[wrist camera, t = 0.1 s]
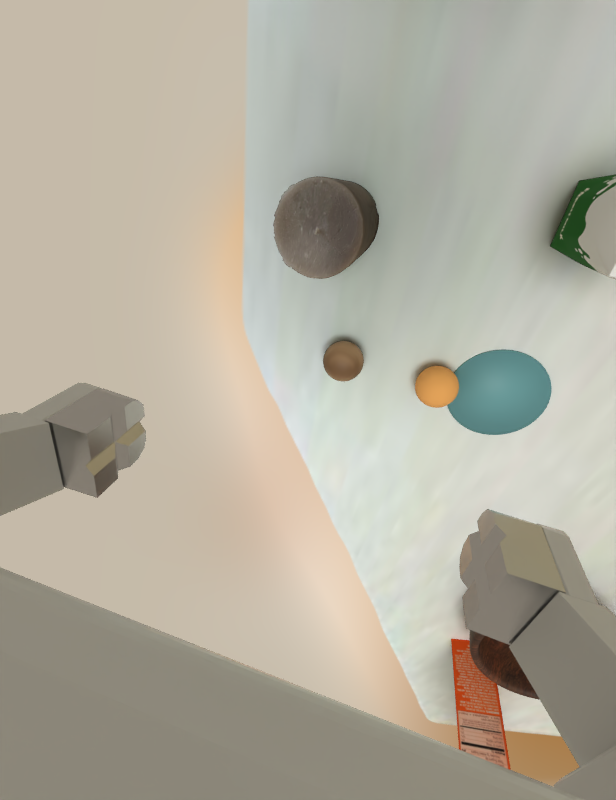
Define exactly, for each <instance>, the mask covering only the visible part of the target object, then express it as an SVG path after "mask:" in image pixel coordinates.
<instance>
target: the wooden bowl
mask: <svg viewBox="0 0 616 800" xmlns="http://www.w3.org/2000/svg"><path fill="white" fill-rule="evenodd" d="M509 646H510V645H508V644H506V643H503V642H501V641H498V640H495V639H493V638H490V637H488V636H485V635H482V634H480V633H477V632H475V631H472V630H470V653H471V657H472V659H473V661H474V663H475V665H476V667H477V668H478V669H479V670H480V671H481V672H482V673H483V674H484V675H485V676H486V677H487V678H489V679H490V680H491V681H493V682H494V683H496V684H498V685H499V686H501V687H503V688H505V689H507V690H510V691H512V692H514V693H517V694H520V695H523V696H527V697H531V698H535V699H539V697H538V695H537V694H536V692H535V690H534V689H533V687H532V685H531V683H530V682H529V680H528V678H527V677H526V675H525V673H524V672H523V670H522V668H521V667H520V665H519V663H518V661H517V660H516V658H515V656H514V655H513V653H512V651H511V650H510V648H509Z"/></svg>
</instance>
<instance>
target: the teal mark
mask: <svg viewBox="0 0 616 800" xmlns="http://www.w3.org/2000/svg"><path fill="white" fill-rule="evenodd" d="M454 374H455V375H456V377H457V379H458V382H459V391H458V394H457V396H456V398H455V399H454V400H453V401H452V402H451V403H450V404H448V408H449V410H450V412H451V414H452V416H453V417H454V418H455V419H456V420H457V421H458V422H459V423H460V424H461V425H462V426H464V427H466V428H467V429H470V430H472V431H474V432H477V433H482V434H489V435H499V434H507V433H511V432H515V431H517V430H520V429H522V428H524V427H526V426H528V425H529V424H531V423H532V422H534V421H535V420H536V419H537V418H538V417H539V416H540V415H541V414H542V413H543V411H544V410H545V408H546V407H547V405H548V403H549V400H550V396H551V382H550V378H549V375H548V373H547V372H546V370H545V368H544V367H543V366H542V365H541V364H540V363H539V362H538V361H537V360H535V359H534V358H532V357H531V356H529V355H527V354H524V353H521V352H518V351H513V350H494V351H489V352H485V353H482V354H479V355H476V356H474V357H473V358H471V359H469V360H468V361H466V362H465V363H463V364H462V365H461V366H460V367H459V368H458V369H457V370H456V371H455V373H454Z"/></svg>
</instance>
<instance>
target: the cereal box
mask: <svg viewBox="0 0 616 800" xmlns="http://www.w3.org/2000/svg"><path fill="white" fill-rule="evenodd" d="M451 641H452V655H453V669H454V684H455V698H456V712H457V726H458V740H459V750H461V751H464V752H466V753H469V754H471V755H474V756H476V757H479V758H482V759H484V760H487V761H489V762H492V763H494V764H497V765H499V766H502V767H504V768H507V769H509V770H510V764H509V757H508V750H507V744H506V738H505V731H504V725H503V719H502V712H501V706H500V700H499V693H498V687H497V684H496V683H494V682H493V681H491V680H490V679H489V678H487V677H486V676H485V675H484V674H483V673H482V672H481V671H480V670H479V669H478V668H477V667H476V665H475V663H474V661H473V659H472V657H471V653H470V641H469V640H459V639H451Z"/></svg>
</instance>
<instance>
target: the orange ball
mask: <svg viewBox="0 0 616 800" xmlns="http://www.w3.org/2000/svg"><path fill="white" fill-rule="evenodd" d="M415 390H416V394H417V396H418V398H419V399H420V400H421V401H422V402H423V403H424V404H426V405H428V406H431V407H443V406H446V405H448V404H450V403H451V402H452V401H453V400H454V399H455V398H456V396H457V394H458V391H459V382H458V379H457V377H456V375H455V374H454V373H453V372H452V371H451V370H450V369H448V368H446V367H443V366H432V367H429V368H427V369H425V370H424V371H422V372H421V373H420V374H419V376H418V378H417V380H416V383H415Z"/></svg>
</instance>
